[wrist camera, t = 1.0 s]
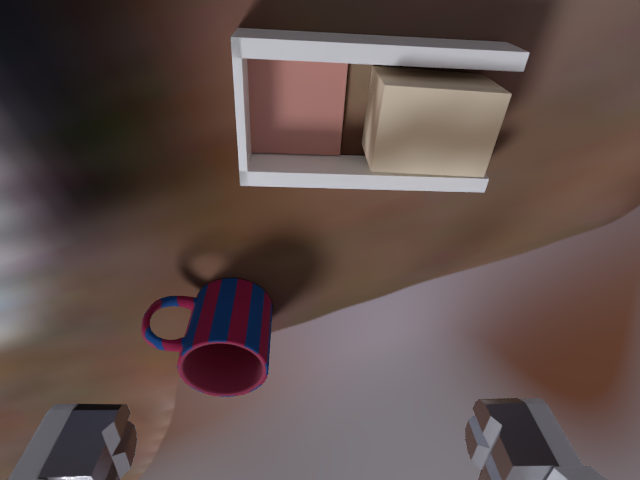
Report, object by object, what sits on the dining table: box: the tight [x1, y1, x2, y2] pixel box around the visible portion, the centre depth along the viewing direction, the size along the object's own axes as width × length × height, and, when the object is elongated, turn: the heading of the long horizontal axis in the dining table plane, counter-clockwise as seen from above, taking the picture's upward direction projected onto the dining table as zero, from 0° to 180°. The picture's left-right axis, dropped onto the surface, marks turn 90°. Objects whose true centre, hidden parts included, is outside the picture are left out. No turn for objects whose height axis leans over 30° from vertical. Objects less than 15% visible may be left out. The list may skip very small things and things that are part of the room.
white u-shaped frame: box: [231, 28, 530, 192], centre depth 26 cm, size 9×16×3 cm, turn 87°
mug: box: [141, 278, 272, 397], centre depth 33 cm, size 7×10×7 cm
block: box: [361, 66, 512, 177], centre depth 25 cm, size 5×7×4 cm
